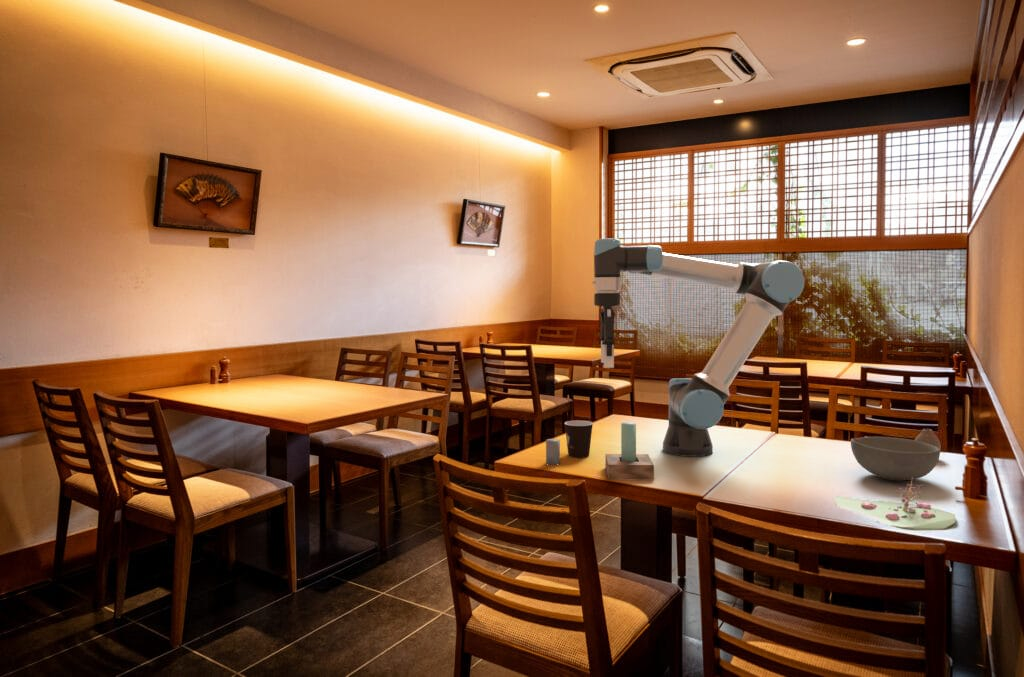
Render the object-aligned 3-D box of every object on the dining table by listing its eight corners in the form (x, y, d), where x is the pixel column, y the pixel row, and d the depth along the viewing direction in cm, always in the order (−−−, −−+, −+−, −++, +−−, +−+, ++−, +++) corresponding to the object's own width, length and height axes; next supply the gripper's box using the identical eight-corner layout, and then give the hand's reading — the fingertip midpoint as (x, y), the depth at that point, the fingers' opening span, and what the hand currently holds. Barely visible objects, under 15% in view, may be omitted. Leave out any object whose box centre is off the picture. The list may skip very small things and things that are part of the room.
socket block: (647, 468, 192) (648, 454, 191) (653, 479, 180) (653, 465, 179) (605, 467, 192) (605, 453, 192) (608, 479, 180) (608, 464, 180)
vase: (938, 457, 200) (939, 428, 200) (942, 462, 194) (943, 432, 194) (911, 455, 203) (912, 426, 203) (914, 460, 197) (915, 430, 196)
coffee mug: (591, 459, 202) (591, 426, 202) (562, 458, 204) (562, 425, 203) (594, 450, 214) (594, 419, 213) (567, 449, 215) (567, 418, 215)
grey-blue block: (559, 462, 199) (559, 438, 199) (559, 465, 195) (559, 441, 195) (546, 462, 200) (546, 438, 199) (546, 465, 196) (545, 441, 195)
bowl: (939, 494, 164) (940, 454, 164) (846, 482, 175) (847, 444, 174) (938, 475, 181) (939, 438, 181) (853, 465, 192) (854, 430, 191)
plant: (818, 515, 152) (819, 475, 152) (842, 493, 168) (842, 457, 167) (949, 540, 136) (951, 496, 136) (961, 513, 152) (963, 474, 152)
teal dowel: (635, 471, 188) (635, 422, 187) (636, 475, 184) (636, 424, 183) (620, 471, 188) (620, 422, 187) (622, 475, 184) (622, 424, 183)
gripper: (592, 292, 208) (592, 360, 210) (596, 292, 184) (596, 369, 185) (616, 292, 208) (616, 360, 209) (624, 292, 183) (624, 369, 185)
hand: (607, 365), depth 197 cm, fingers open, 13 cm apart
